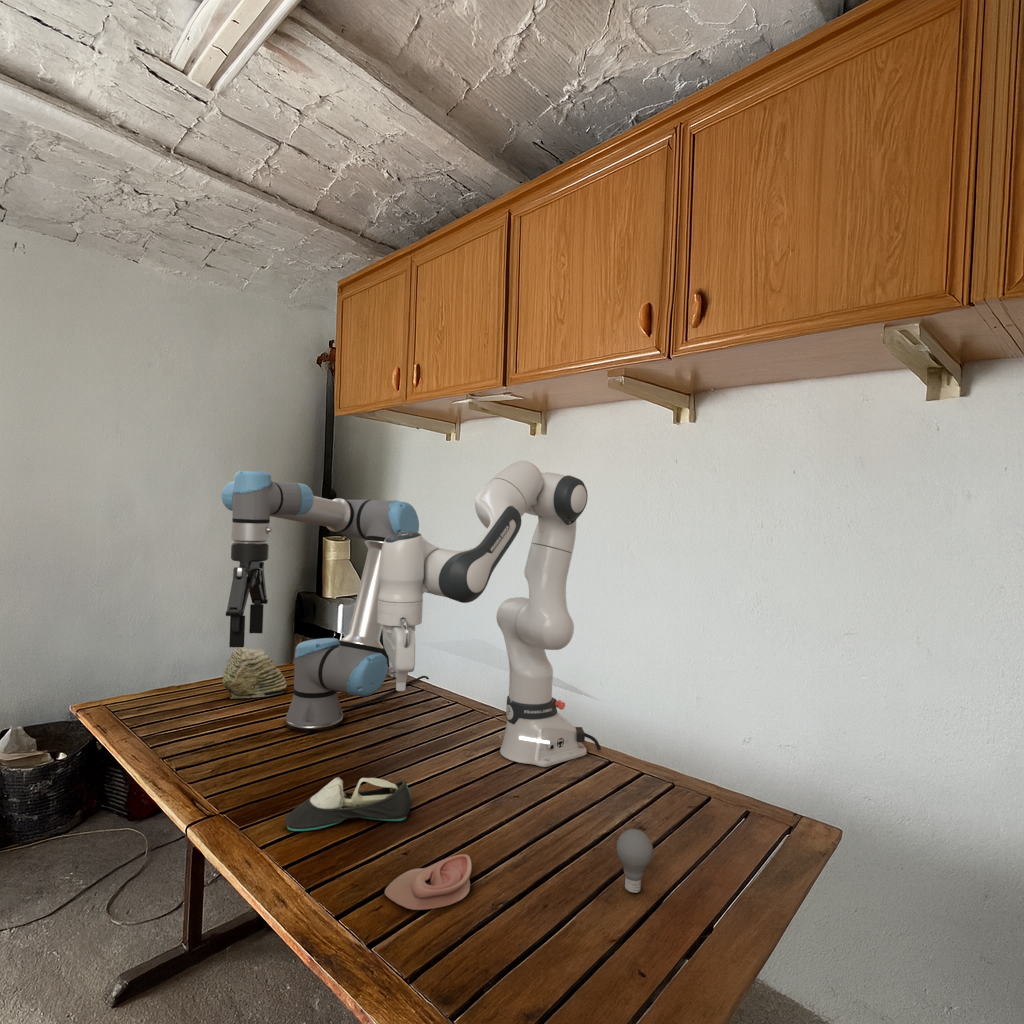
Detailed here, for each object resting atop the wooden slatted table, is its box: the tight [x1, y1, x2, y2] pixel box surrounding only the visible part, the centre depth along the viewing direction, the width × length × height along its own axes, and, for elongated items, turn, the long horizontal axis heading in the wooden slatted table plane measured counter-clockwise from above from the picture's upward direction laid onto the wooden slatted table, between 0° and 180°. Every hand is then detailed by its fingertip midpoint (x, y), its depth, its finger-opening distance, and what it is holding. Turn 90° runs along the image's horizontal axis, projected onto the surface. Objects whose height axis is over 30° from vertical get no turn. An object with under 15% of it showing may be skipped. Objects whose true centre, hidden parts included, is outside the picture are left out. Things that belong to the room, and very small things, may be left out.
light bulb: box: [615, 828, 654, 894], centre depth 106 cm, size 6×6×10 cm
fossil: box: [222, 646, 288, 699], centre depth 198 cm, size 9×18×15 cm, turn 132°
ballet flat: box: [284, 776, 413, 832], centre depth 125 cm, size 8×24×8 cm, turn 109°
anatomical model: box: [384, 853, 473, 911], centre depth 104 cm, size 13×4×12 cm
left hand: (246, 639), depth 138 cm, fingers open, 13 cm apart
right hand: (397, 682), depth 126 cm, fingers open, 8 cm apart
